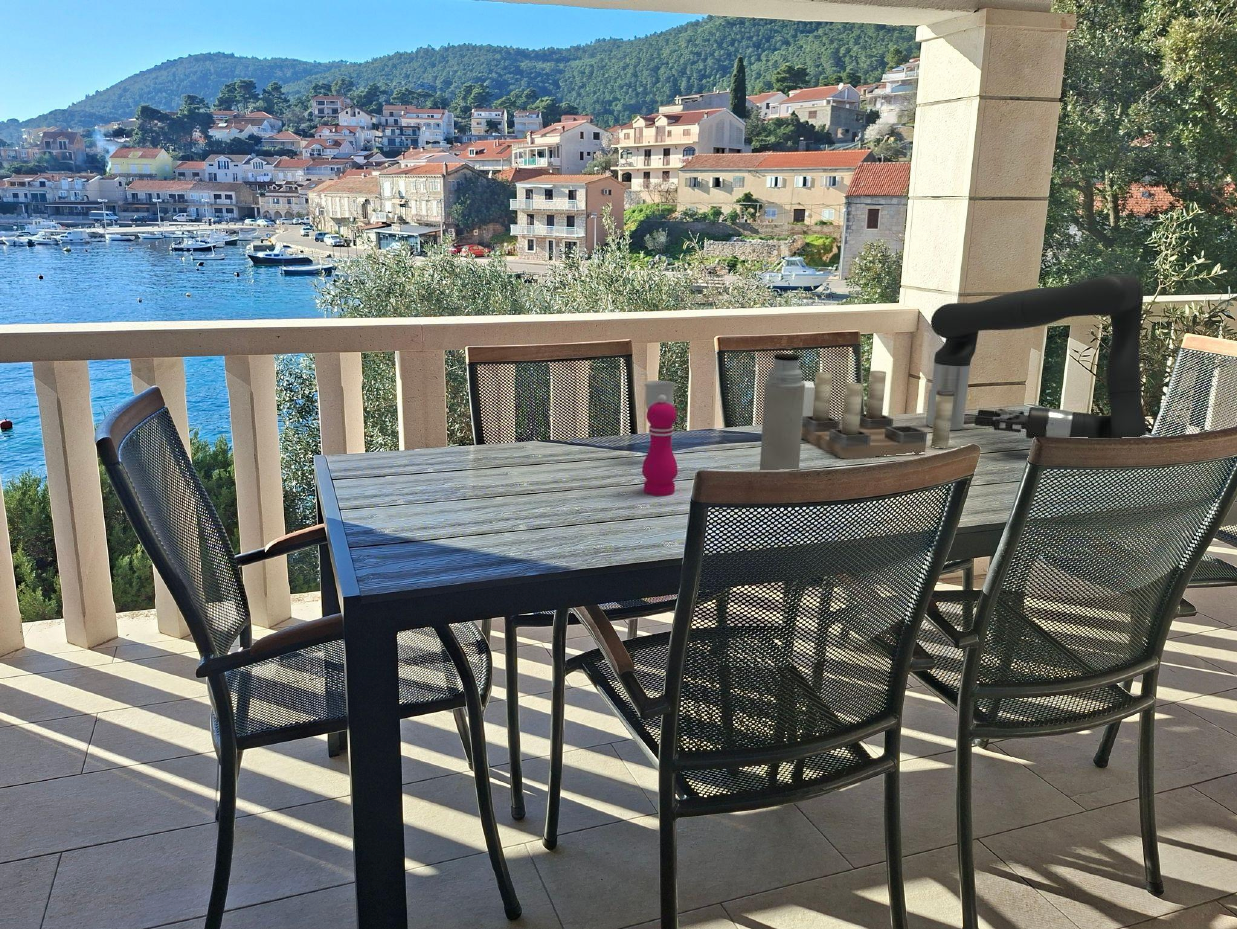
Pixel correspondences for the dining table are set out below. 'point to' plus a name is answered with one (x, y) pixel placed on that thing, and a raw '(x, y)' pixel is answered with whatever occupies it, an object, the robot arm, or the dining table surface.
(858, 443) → the stool seat
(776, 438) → the thermos bottle
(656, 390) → the chalice
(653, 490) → the pepper mill
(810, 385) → the base with upright slab
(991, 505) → the dining table surface
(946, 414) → the loose leg
